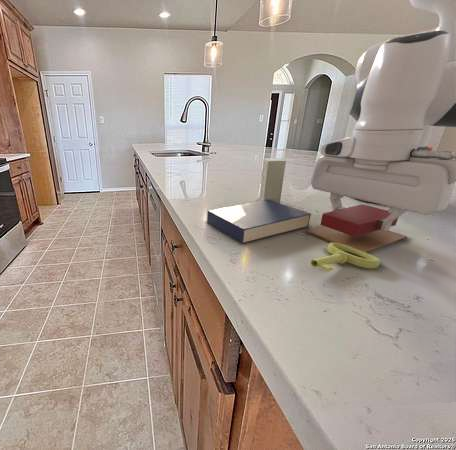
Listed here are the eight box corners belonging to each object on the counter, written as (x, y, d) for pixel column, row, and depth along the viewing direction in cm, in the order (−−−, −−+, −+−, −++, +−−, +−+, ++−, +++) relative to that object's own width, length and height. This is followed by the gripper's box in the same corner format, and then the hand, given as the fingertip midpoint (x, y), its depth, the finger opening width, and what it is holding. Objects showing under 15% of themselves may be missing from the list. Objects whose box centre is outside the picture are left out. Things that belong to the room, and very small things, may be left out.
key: (306, 272, 37) (309, 260, 36) (330, 245, 45) (333, 235, 44) (365, 294, 32) (371, 280, 31) (381, 260, 40) (386, 248, 39)
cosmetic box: (279, 207, 65) (287, 160, 60) (261, 206, 66) (268, 161, 61) (274, 200, 71) (280, 157, 66) (257, 200, 72) (263, 157, 67)
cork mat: (350, 220, 55) (351, 219, 55) (406, 238, 46) (407, 236, 46) (306, 232, 50) (307, 230, 50) (360, 254, 42) (361, 252, 41)
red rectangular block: (358, 214, 52) (361, 204, 51) (395, 225, 47) (400, 213, 46) (319, 224, 48) (322, 213, 47) (355, 237, 43) (359, 224, 42)
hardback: (265, 210, 63) (267, 199, 62) (308, 226, 53) (311, 213, 52) (206, 222, 57) (207, 210, 56) (242, 243, 47) (243, 229, 46)
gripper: (482, 151, 34) (440, 239, 39) (334, 143, 52) (319, 205, 57) (459, 154, 32) (418, 247, 37) (313, 144, 49) (300, 209, 55)
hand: (357, 221), depth 47 cm, fingers closed on red rectangular block, 6 cm apart
